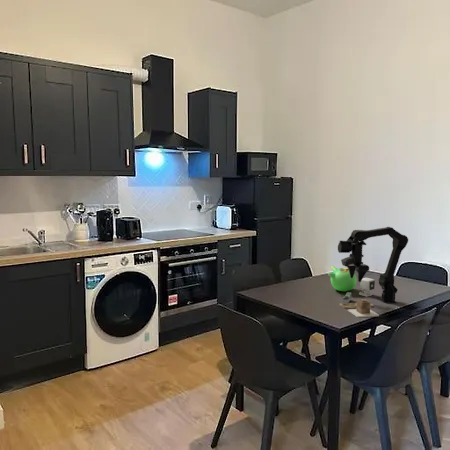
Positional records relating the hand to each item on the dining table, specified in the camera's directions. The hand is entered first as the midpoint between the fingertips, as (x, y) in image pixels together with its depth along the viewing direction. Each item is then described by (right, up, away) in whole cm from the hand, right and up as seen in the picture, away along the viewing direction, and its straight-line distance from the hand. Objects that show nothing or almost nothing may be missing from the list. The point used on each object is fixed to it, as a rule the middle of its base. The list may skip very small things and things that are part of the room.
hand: (355, 279), depth 245 cm
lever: (-5, -12, -1) cm, 13 cm away
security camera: (+11, -12, +16) cm, 23 cm away
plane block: (-1, -14, -6) cm, 15 cm away
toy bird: (-1, -10, +26) cm, 28 cm away
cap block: (-1, -15, -18) cm, 23 cm away
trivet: (-1, -15, -18) cm, 24 cm away
